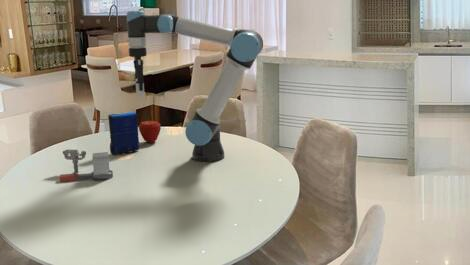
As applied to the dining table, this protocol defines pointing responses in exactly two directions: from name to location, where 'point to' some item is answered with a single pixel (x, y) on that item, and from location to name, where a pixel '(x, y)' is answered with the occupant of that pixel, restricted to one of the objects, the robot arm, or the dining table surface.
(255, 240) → the dining table surface
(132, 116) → the blue box
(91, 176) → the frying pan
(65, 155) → the mechanical component
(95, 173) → the gray rectangular block
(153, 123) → the apple
